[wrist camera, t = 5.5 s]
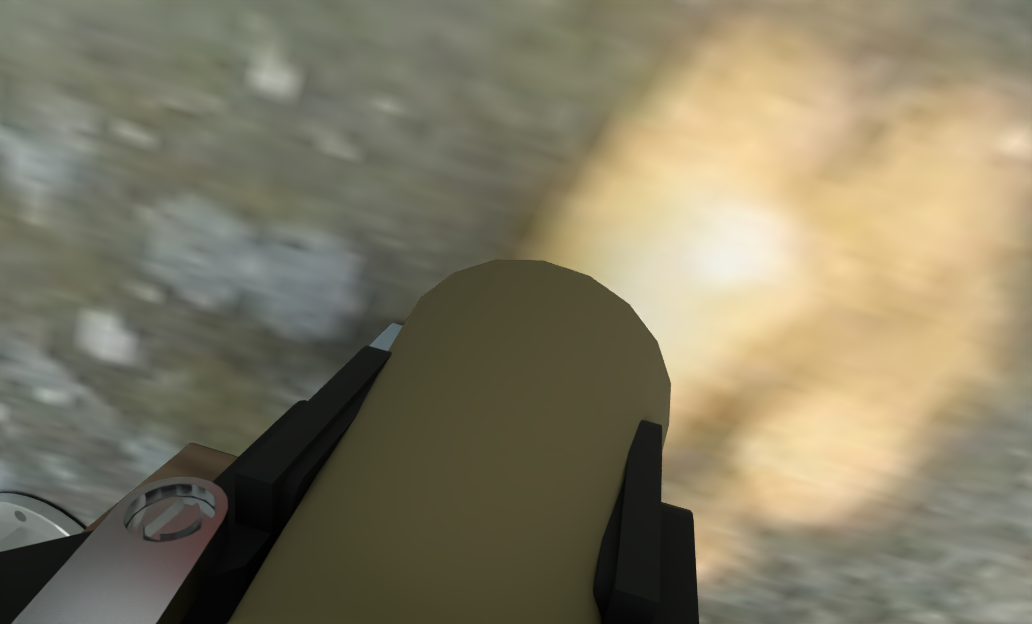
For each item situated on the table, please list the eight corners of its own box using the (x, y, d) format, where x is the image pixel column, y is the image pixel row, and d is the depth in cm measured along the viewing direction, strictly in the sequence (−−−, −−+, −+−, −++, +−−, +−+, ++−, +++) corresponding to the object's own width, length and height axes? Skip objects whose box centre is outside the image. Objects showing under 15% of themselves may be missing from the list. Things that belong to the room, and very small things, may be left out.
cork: (358, 433, 15) (-262, 1193, 5) (450, 205, 12) (-461, 845, 2) (588, 552, 15) (423, 1587, 5) (730, 347, 12) (1013, 1671, 2)
